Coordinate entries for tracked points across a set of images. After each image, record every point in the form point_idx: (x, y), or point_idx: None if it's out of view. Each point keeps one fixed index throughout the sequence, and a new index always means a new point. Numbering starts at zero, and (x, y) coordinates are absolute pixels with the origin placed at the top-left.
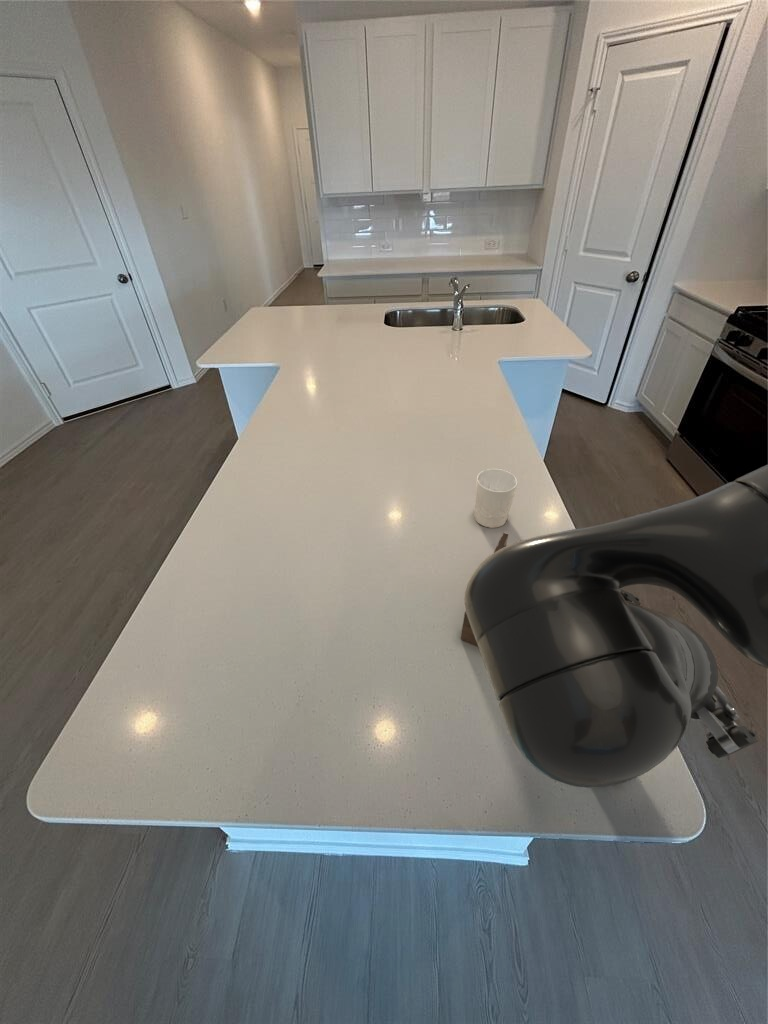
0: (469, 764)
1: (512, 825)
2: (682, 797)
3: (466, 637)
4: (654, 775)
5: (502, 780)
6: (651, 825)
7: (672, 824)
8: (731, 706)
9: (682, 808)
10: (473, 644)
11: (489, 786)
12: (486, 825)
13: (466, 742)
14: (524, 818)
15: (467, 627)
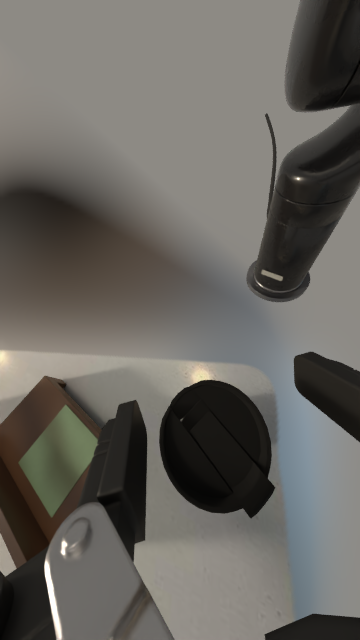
0: (225, 614)
1: (289, 573)
2: (248, 370)
3: None
4: (233, 383)
5: (242, 563)
6: (271, 406)
7: (268, 388)
8: (342, 371)
9: (256, 374)
10: None
11: (249, 590)
12: (294, 621)
13: (199, 605)
14: (280, 550)
15: None
